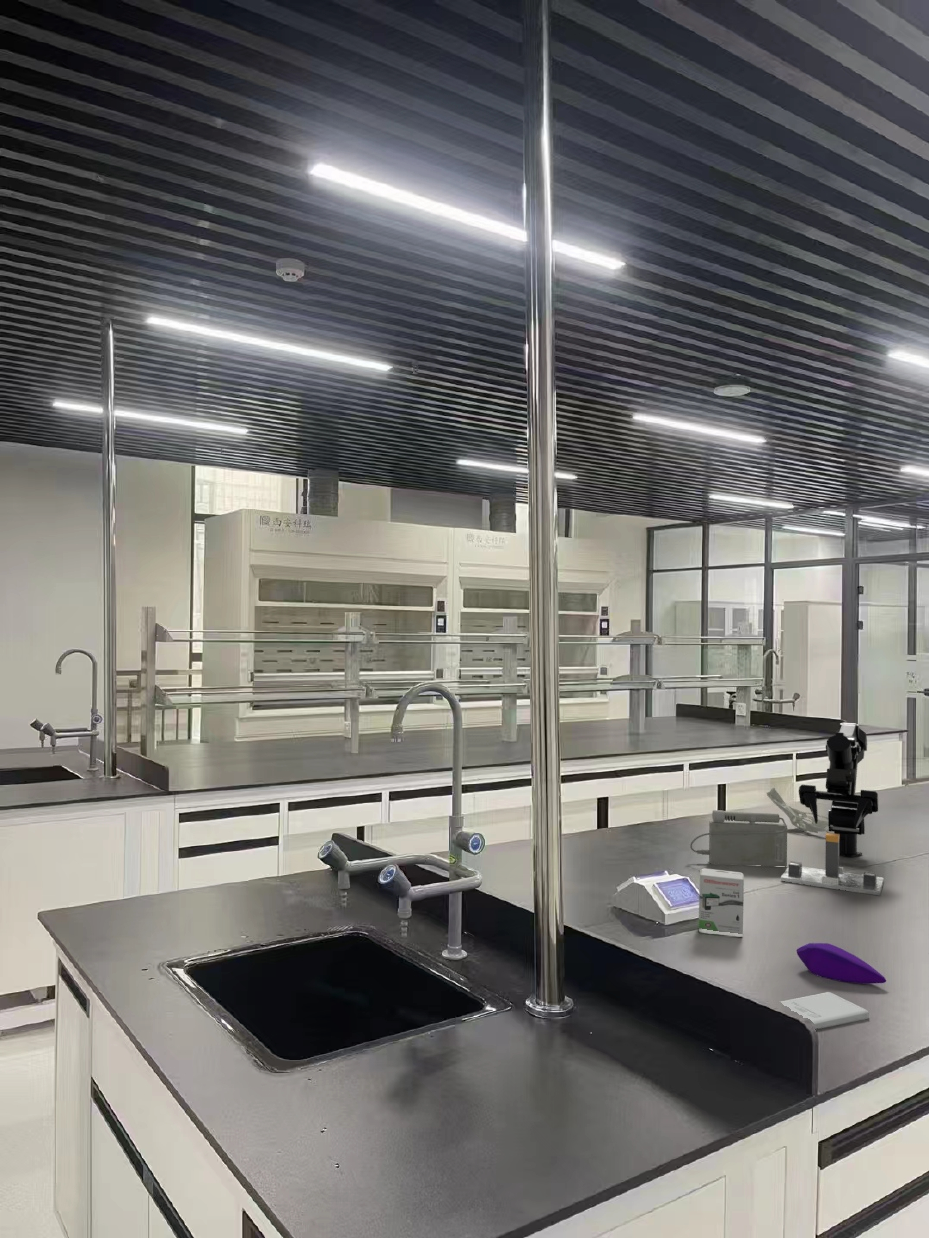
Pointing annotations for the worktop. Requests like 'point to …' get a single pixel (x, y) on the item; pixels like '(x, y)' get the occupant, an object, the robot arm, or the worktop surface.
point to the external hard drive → (826, 1009)
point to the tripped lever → (832, 855)
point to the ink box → (721, 900)
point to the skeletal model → (795, 817)
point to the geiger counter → (746, 839)
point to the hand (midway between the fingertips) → (835, 824)
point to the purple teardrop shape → (837, 964)
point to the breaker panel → (834, 879)
